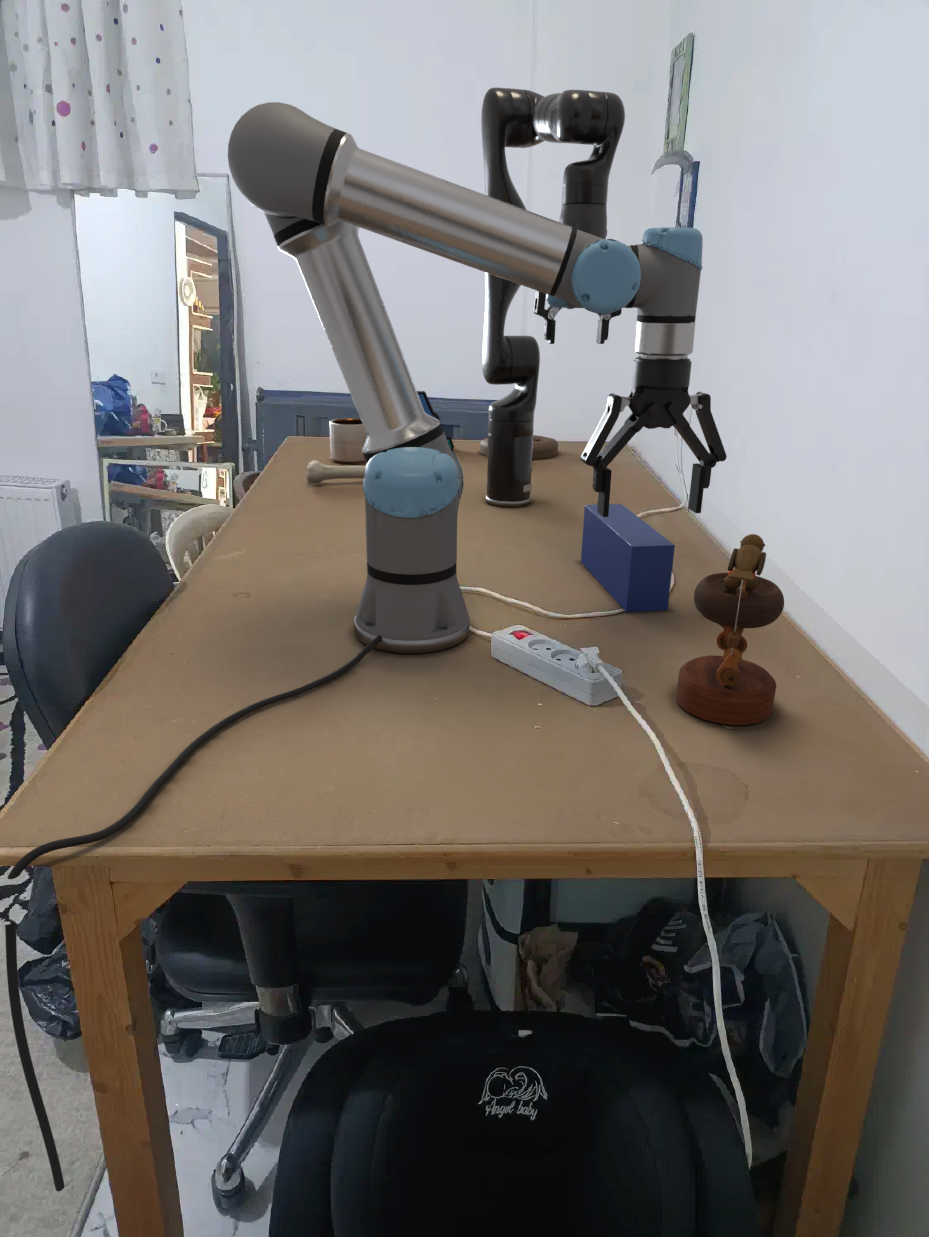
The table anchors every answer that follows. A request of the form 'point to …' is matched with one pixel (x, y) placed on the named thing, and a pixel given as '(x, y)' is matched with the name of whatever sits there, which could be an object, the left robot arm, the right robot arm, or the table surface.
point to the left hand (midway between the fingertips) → (648, 512)
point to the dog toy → (332, 472)
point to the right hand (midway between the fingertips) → (575, 343)
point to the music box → (733, 642)
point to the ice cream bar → (541, 447)
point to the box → (628, 558)
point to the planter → (347, 440)
